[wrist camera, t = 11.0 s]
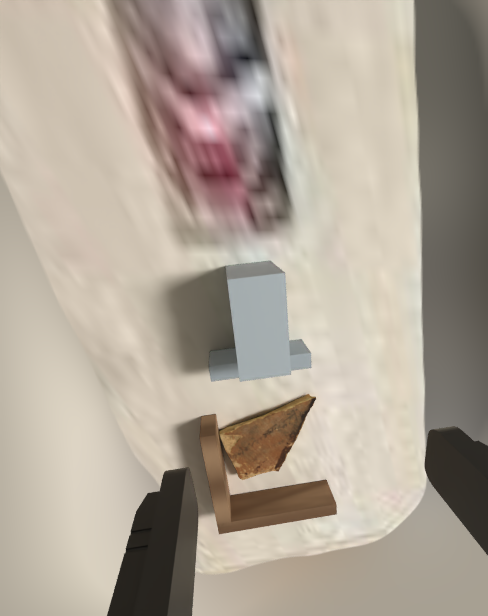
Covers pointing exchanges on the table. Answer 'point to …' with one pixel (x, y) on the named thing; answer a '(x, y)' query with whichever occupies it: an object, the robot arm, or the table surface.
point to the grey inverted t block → (258, 327)
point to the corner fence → (257, 493)
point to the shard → (265, 438)
